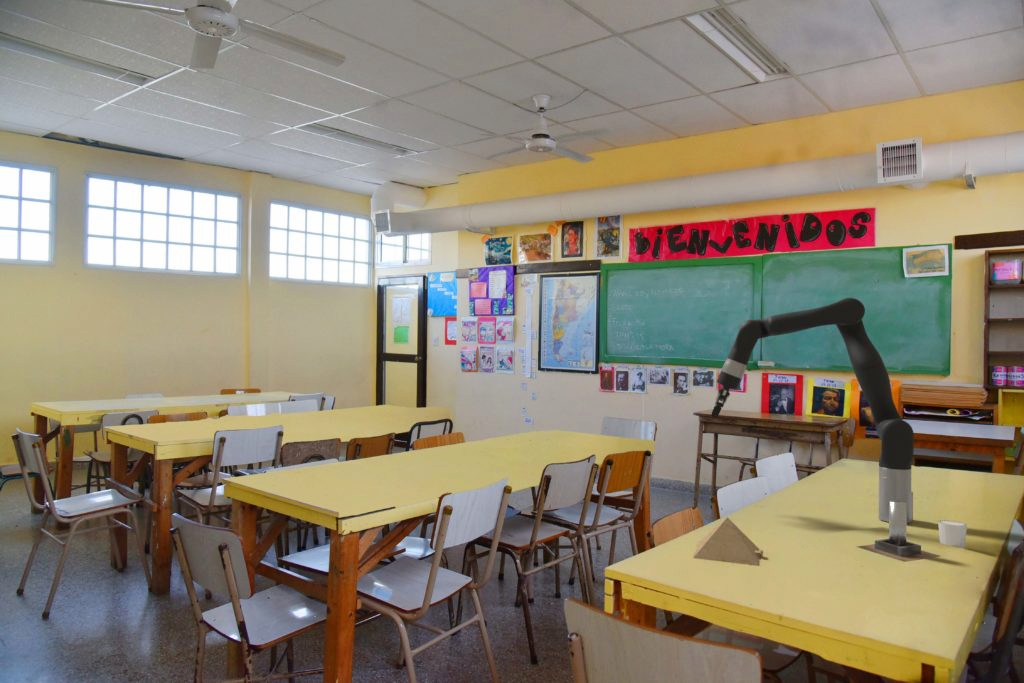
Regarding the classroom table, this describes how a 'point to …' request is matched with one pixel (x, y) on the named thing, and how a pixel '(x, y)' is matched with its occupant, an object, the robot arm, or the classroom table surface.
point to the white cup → (952, 533)
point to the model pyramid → (728, 546)
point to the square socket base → (898, 550)
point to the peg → (897, 523)
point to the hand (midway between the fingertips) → (714, 416)
